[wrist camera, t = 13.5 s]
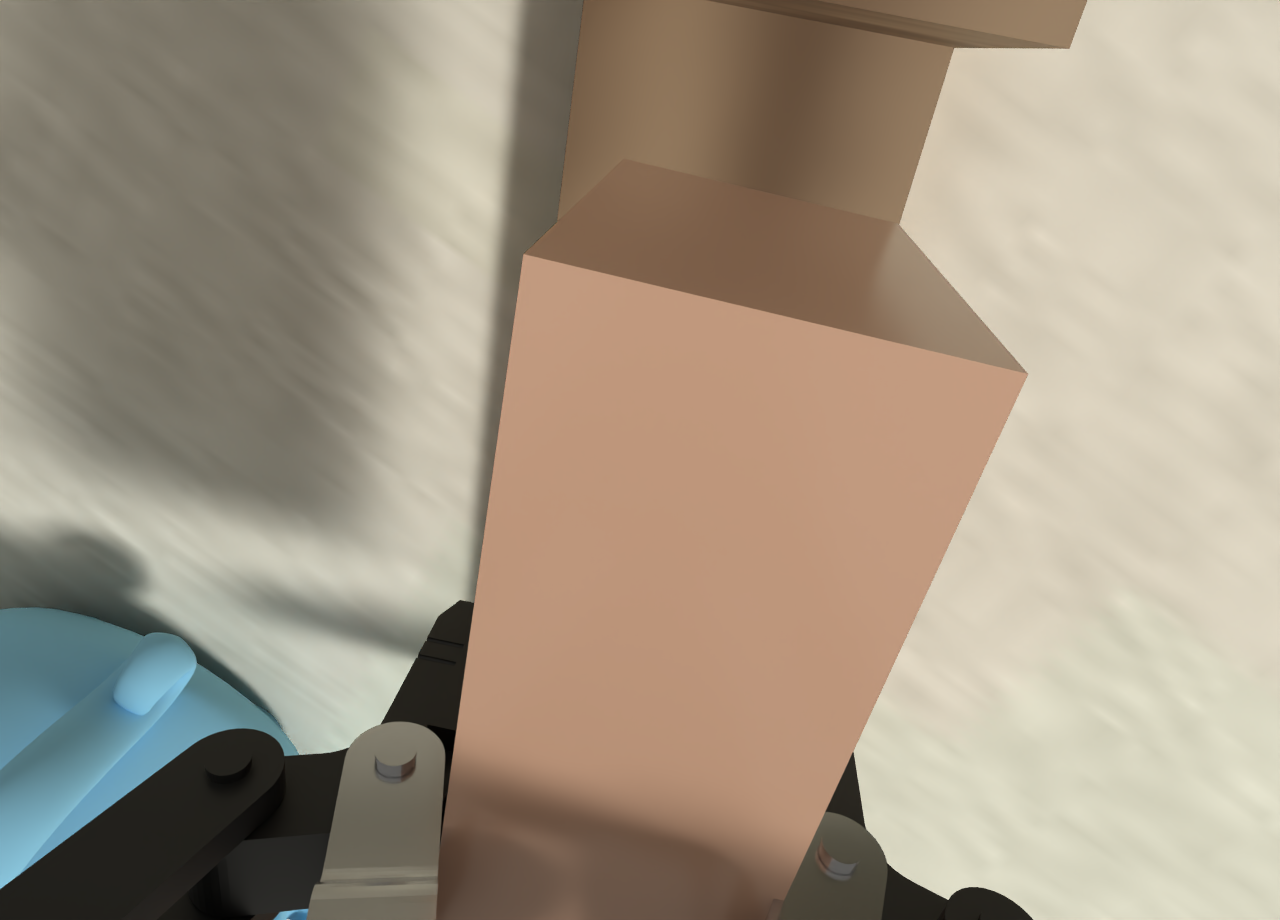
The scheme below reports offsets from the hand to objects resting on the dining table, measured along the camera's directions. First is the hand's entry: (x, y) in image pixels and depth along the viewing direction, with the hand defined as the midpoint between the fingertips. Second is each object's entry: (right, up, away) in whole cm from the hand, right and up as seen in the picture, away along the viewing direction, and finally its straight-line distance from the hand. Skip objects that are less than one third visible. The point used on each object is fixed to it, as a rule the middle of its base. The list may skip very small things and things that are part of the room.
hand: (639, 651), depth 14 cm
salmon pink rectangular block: (0, 0, +1) cm, 1 cm away
